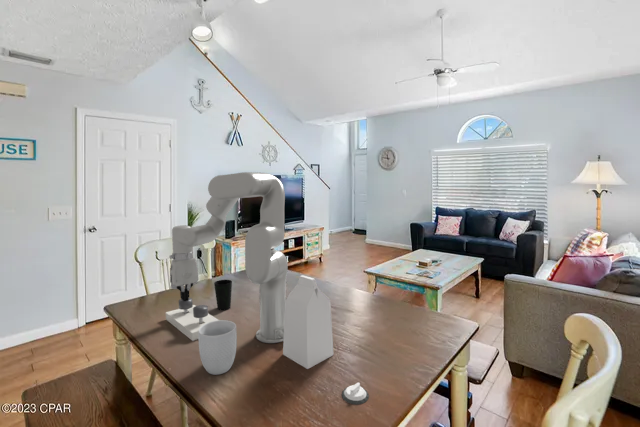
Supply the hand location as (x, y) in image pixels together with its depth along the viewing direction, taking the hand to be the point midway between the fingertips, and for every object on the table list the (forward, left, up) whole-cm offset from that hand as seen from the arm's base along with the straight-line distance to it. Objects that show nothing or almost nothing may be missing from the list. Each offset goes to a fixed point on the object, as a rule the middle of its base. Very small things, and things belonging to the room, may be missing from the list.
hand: (185, 299), depth 135 cm
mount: (-7, 0, -8) cm, 11 cm away
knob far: (0, 0, -6) cm, 6 cm away
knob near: (-14, 0, -5) cm, 15 cm away
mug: (-42, +7, -9) cm, 44 cm away
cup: (0, -17, -9) cm, 19 cm away
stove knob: (-80, -12, -9) cm, 82 cm away
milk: (-56, -17, -9) cm, 59 cm away
